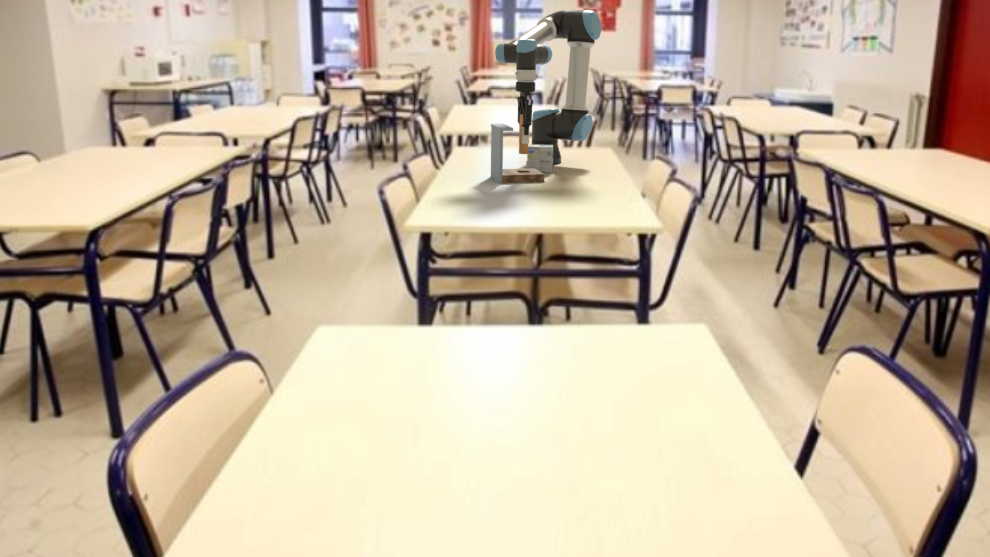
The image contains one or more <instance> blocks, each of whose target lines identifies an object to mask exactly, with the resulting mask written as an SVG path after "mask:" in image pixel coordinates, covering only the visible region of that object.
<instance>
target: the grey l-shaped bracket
mask: <svg viewBox="0 0 990 557" xmlns="http://www.w3.org/2000/svg"><path fill="white" fill-rule="evenodd" d="M490 130H491V131H490V132H491V133H490V136H491V137H490V178H492V180H494V181H496V182H497V183H498V184H503V183H502V172H503V169H504V167H503V162H504V161H503V160H504V158H503V156H504V153H503V152H504V132H512V131H514V127H512V126H509V125H507V124H505V123H491V124H490Z"/></svg>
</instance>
